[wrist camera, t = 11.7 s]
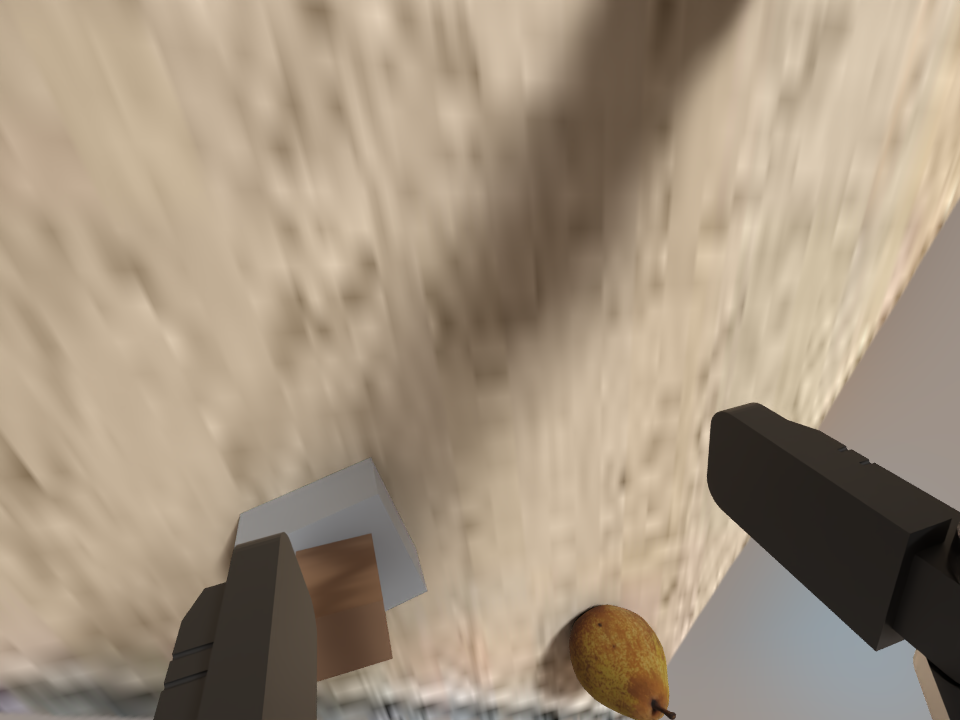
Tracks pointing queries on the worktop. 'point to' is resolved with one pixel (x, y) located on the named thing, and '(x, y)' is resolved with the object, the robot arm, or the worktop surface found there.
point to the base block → (344, 525)
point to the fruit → (621, 662)
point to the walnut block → (346, 605)
